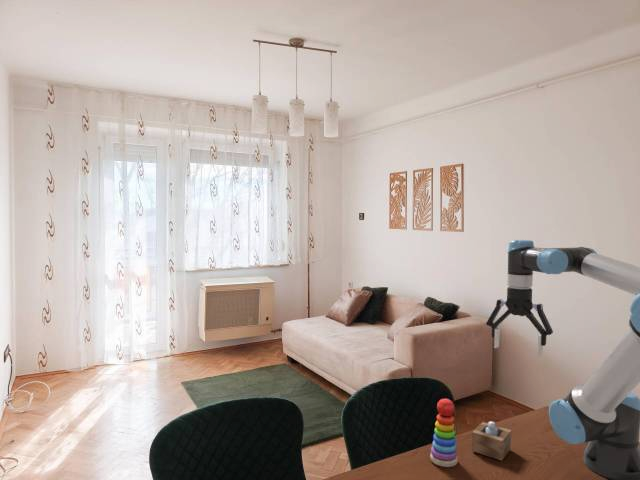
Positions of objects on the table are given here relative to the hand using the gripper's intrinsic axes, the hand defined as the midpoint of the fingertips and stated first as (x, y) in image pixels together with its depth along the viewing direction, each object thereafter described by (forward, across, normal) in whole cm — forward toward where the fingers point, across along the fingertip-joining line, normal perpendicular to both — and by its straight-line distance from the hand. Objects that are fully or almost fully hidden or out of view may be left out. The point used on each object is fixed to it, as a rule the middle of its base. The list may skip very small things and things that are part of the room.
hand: (517, 351), depth 152 cm
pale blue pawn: (+29, +3, +15) cm, 33 cm away
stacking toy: (+29, +12, +30) cm, 43 cm away
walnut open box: (+28, +3, +15) cm, 32 cm away
